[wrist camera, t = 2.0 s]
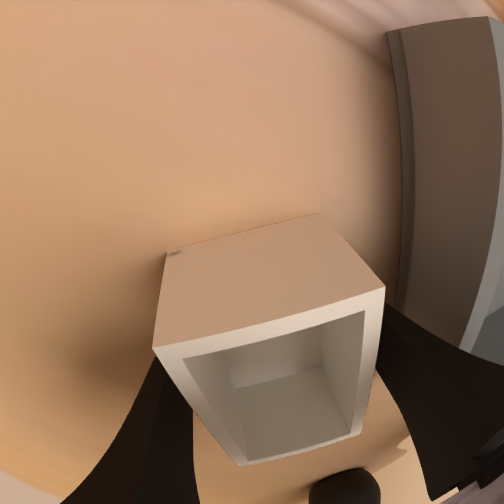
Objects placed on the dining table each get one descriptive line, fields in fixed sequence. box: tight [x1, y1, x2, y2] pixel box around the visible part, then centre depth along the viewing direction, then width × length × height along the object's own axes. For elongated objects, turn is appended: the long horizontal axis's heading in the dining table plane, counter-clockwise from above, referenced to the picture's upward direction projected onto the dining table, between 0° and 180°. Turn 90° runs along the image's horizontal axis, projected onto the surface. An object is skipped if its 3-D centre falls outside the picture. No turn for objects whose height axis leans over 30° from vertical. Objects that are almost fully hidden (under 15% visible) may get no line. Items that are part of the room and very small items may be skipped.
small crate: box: [152, 213, 386, 467], centre depth 10 cm, size 8×5×4 cm, turn 11°
